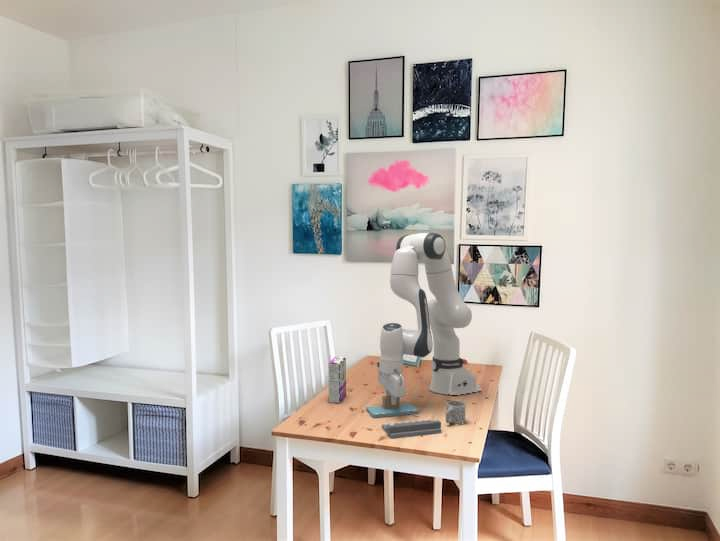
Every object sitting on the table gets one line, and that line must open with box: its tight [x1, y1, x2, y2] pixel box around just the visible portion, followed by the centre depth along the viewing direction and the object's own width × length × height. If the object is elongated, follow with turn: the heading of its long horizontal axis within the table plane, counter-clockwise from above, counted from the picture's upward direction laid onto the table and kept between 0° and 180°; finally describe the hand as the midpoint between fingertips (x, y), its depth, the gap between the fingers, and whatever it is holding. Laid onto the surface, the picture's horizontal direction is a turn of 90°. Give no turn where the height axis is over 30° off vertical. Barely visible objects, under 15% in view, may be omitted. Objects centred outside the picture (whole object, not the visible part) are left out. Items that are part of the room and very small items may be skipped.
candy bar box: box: [327, 355, 347, 404], centre depth 218 cm, size 11×5×16 cm, turn 168°
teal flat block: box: [365, 395, 420, 419], centre depth 203 cm, size 18×9×5 cm, turn 106°
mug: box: [445, 400, 466, 425], centre depth 192 cm, size 10×7×7 cm, turn 141°
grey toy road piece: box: [381, 418, 442, 439], centre depth 184 cm, size 19×10×4 cm, turn 106°
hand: (391, 402), depth 204 cm, fingers closed on teal flat block, 3 cm apart
